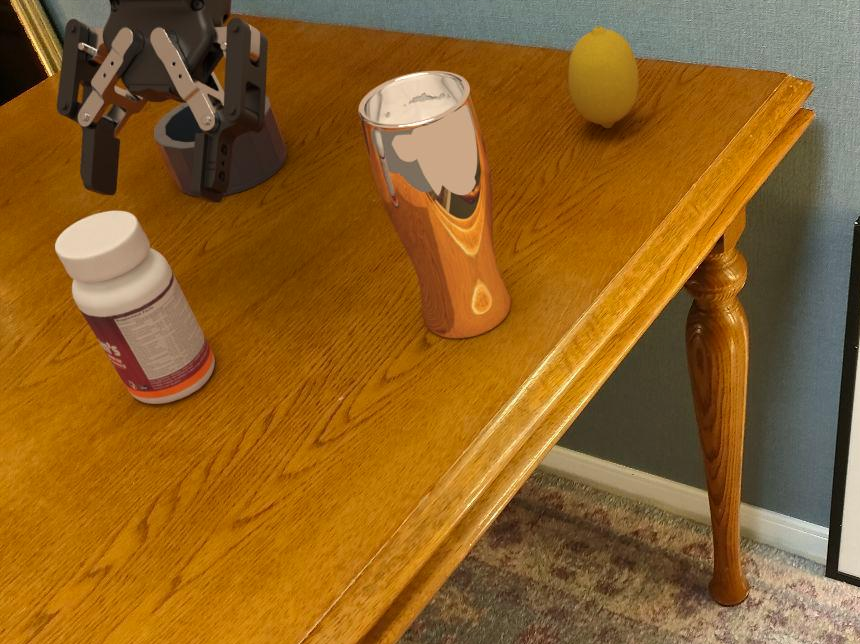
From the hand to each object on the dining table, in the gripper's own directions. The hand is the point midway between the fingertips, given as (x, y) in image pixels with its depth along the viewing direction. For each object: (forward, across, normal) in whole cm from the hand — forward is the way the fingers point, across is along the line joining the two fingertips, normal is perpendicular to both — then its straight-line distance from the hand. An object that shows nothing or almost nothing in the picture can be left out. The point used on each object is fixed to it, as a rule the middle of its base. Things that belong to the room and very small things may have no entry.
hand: (152, 196), depth 64 cm
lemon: (-13, +20, +28) cm, 37 cm away
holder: (-7, -12, +22) cm, 26 cm away
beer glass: (+4, +18, +11) cm, 21 cm away
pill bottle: (+11, 0, +4) cm, 12 cm away
